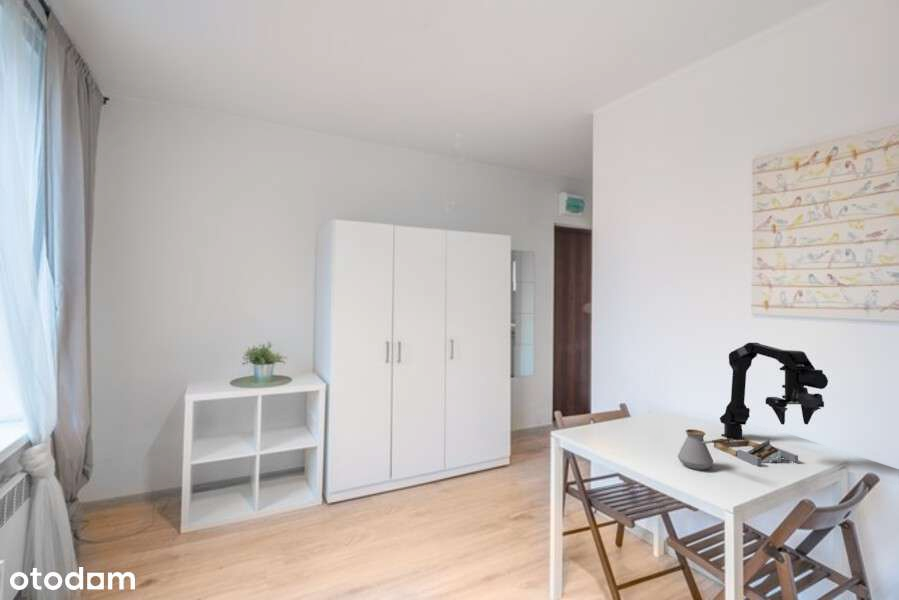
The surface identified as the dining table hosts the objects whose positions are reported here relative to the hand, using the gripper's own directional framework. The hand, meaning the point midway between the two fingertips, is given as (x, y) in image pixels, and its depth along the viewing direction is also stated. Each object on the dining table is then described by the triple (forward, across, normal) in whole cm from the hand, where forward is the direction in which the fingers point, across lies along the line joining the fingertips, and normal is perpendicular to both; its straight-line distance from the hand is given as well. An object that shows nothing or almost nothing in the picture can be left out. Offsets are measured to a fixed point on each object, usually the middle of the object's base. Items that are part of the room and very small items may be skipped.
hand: (794, 424), depth 161 cm
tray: (+14, -11, +13) cm, 22 cm away
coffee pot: (+15, -39, -8) cm, 43 cm away
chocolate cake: (+15, -10, +2) cm, 18 cm away
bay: (+14, -9, +2) cm, 17 cm away
